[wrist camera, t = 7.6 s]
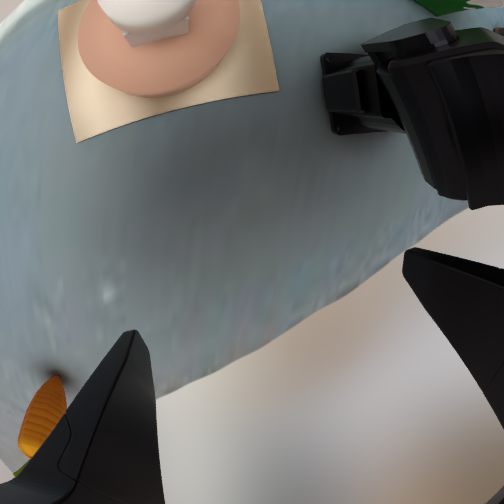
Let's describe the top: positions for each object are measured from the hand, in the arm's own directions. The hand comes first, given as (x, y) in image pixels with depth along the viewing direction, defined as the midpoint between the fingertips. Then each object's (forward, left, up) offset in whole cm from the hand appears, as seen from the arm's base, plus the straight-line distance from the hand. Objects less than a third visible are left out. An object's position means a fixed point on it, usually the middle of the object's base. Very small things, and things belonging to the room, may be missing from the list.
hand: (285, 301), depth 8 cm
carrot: (+23, +14, -13) cm, 30 cm away
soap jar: (+2, -12, -13) cm, 18 cm away
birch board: (+2, -12, -13) cm, 18 cm away
